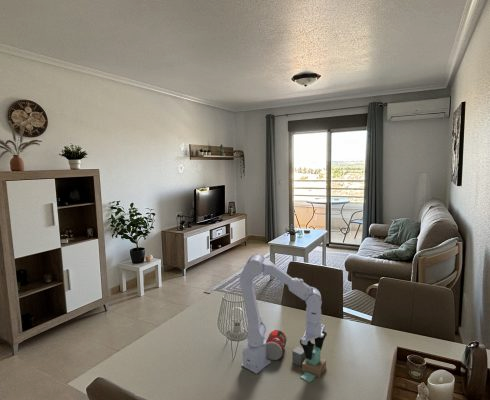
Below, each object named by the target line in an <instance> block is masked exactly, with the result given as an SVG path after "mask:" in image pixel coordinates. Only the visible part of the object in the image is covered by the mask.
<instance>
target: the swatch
mask: <svg viewBox="0 0 490 400" xmlns="http://www.w3.org/2000/svg"><path fill="white" fill-rule="evenodd" d="M315 378H316V376H315V375H313V374H310V373H308V372H304V373H303V374H302V375H301V376H300V379H302V380H304V381H306V382H309V383H311V382H312V381H313V380H314V379H315Z"/></svg>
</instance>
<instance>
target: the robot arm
mask: <svg viewBox="0 0 490 400" xmlns="http://www.w3.org/2000/svg"><path fill="white" fill-rule="evenodd" d="M261 274H262V276H265V277H266V276H272V277H273V278H275V279H277V280H278V281H280V282H281V283H283V284H285V285H287V287H288V291H289V292H291V293H292V294H293V295H295V296H297V297H298V298H299V299H300V300H302V301H305V304H306V308H305V331H304V334H303V337H301V339H300V340H299V344H300V346H301V348H302V349H303V350H304V353H305V357H306V359H309V360H311V359H312V352H313V348H314V346H315V347H318V348H320V352H321V351H322V349H323V346H324V341H325V339H326V337H327V335H328V332H326V331H325V330H326V329H325V328H326V326H325V324H322V303H323V301H322V295H321V292H320V291H319V289H318V288H316V287H313V286H310V285H309V284H307V283H306V282H304V279H302V278H298V277H292V276H290V275H289V274H288V273H286V272H285V271H284V270H282V268H280V267H279V266H278V265H276V264H274V263H273V262H272V261H271V260H270V259H269V258H267V257H265V256H263V254H260V253H255V254H253V255H251V256H250V257H249V259H248V260H247V261H246V263H245V265H244V267H243V269H242V271H241V273H240V276H239V284H240V289H241V294H242V299H243V303H244V308H245V313H246V314H245V315H246V318H247V334H248V335H247V337H246V341H247V345H246V346H245V348H243V351H242V363H241V366H242V367H243V368H246V369H248V370H249V371H251V372H253V373H254V374H258V373H259V372H261V371H262V370H263V369H265V368H266V367H267V366H268V365H269V364H271V362H272V360H270V359H268V358H267V357H266V341H267V339H266V338H265V334H266V332H267V327H266V324H265V323H264V322H263V319H262V317H261V315H260V311H259V306H258V302H257V296H256V295H257V294H256V292H255V291H256V290H255V286H254V280H255V278H257V277H259V276H260V275H261ZM312 340H314V343H312Z"/></svg>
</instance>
